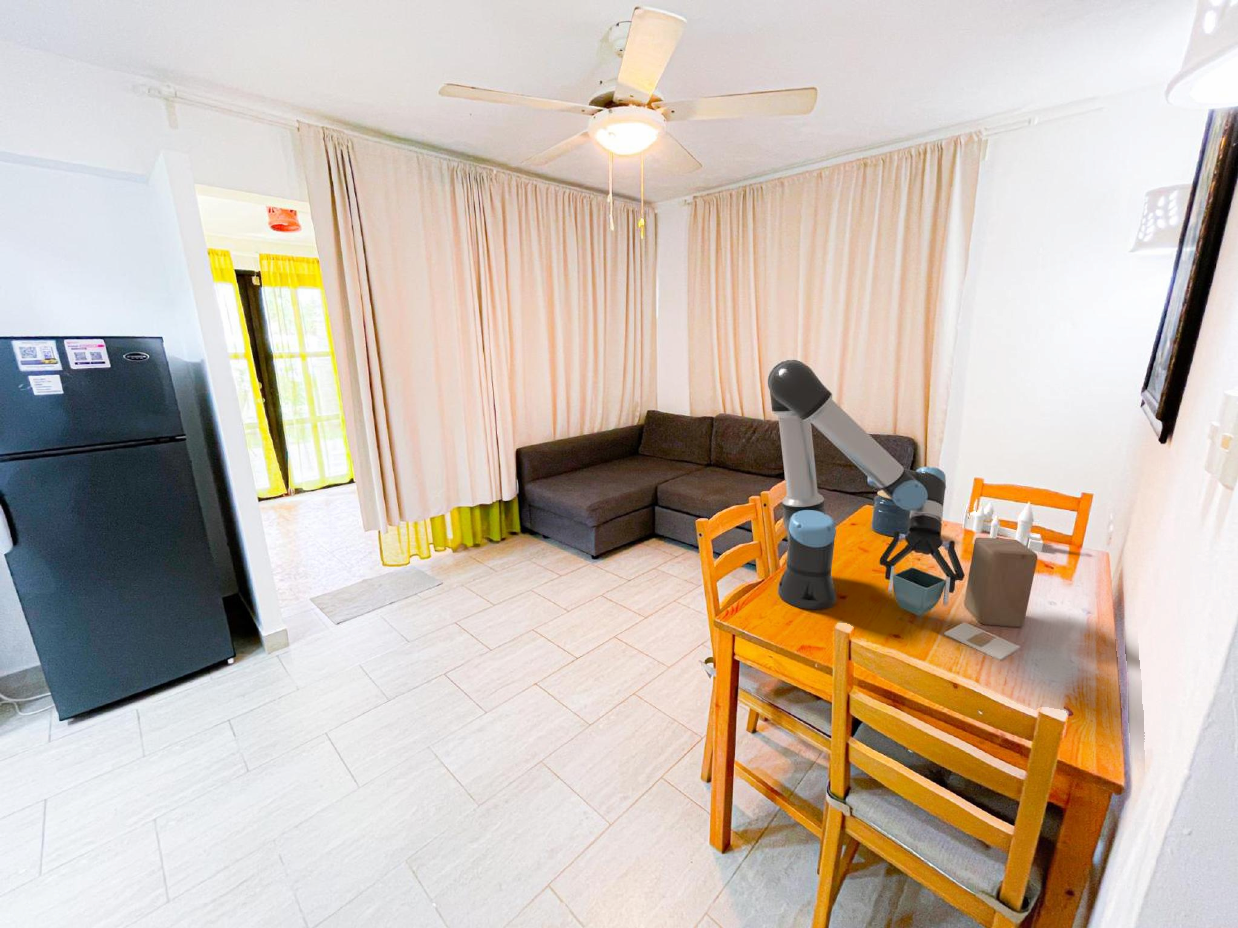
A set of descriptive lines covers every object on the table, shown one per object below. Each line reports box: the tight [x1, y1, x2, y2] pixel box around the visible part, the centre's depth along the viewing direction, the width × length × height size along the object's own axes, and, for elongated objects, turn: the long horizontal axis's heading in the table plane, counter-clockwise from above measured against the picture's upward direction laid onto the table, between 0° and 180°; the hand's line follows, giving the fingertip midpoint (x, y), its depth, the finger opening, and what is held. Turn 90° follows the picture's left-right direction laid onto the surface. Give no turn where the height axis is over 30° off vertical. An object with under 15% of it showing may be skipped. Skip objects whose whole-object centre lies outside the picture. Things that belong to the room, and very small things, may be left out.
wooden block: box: [963, 537, 1039, 628], centre depth 128 cm, size 10×10×20 cm
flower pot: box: [892, 567, 946, 616], centre depth 128 cm, size 9×9×9 cm
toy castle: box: [961, 498, 1044, 553], centre depth 180 cm, size 14×25×16 cm, turn 36°
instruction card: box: [944, 622, 1021, 661], centre depth 120 cm, size 12×9×1 cm
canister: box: [870, 489, 911, 537], centre depth 186 cm, size 13×13×18 cm
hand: (917, 597), depth 126 cm, fingers closed on flower pot, 11 cm apart
